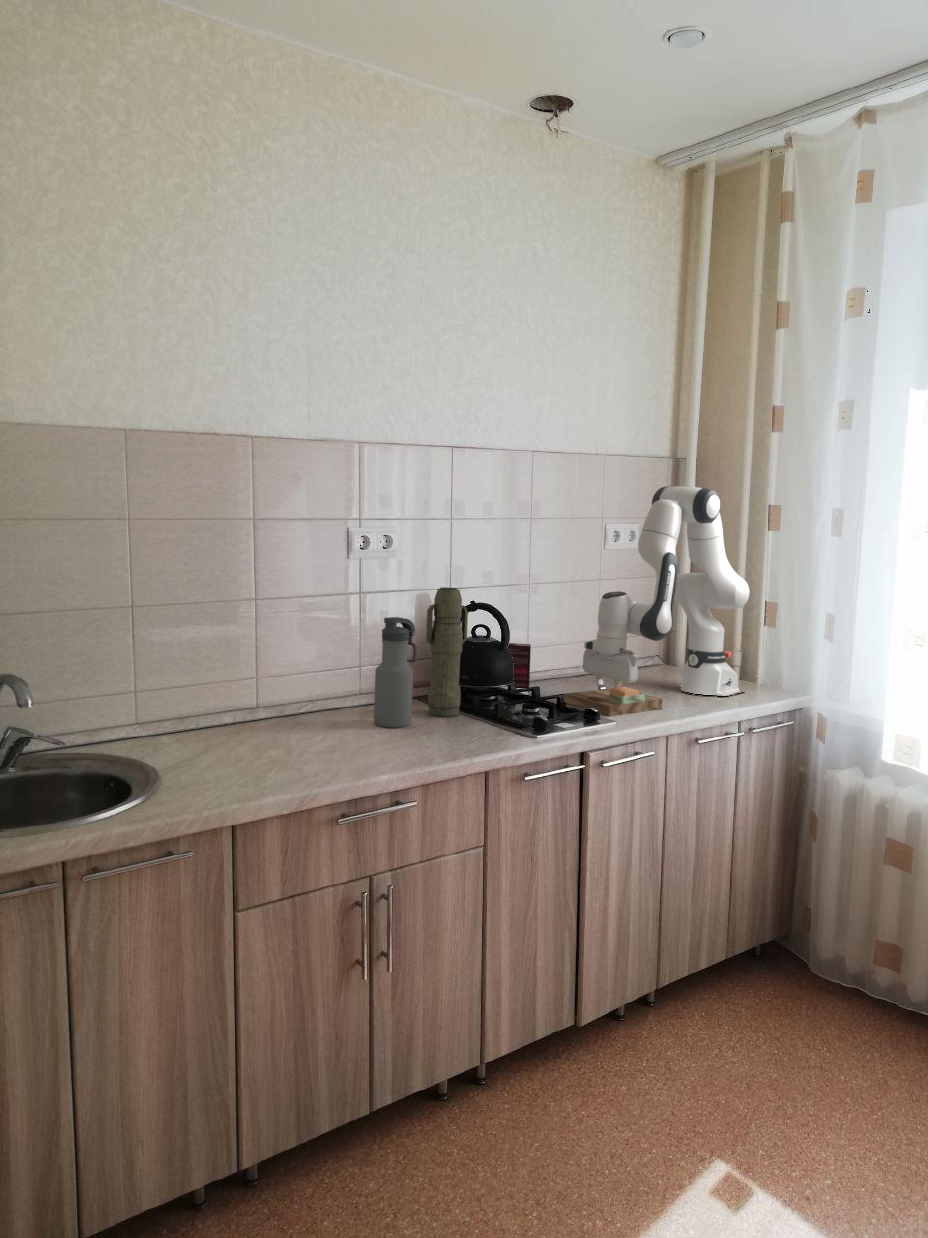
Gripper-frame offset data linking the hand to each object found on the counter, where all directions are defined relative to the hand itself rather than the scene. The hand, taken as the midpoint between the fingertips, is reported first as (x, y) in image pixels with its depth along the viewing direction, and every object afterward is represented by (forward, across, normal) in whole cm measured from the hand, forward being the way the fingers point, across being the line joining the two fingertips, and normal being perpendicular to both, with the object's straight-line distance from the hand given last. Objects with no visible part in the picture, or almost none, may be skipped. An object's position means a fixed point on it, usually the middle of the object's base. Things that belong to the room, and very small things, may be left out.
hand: (608, 692), depth 276 cm
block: (+1, -7, 0) cm, 7 cm away
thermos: (+4, +11, +51) cm, 53 cm away
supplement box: (+4, +25, +16) cm, 30 cm away
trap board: (+4, -1, -1) cm, 4 cm away
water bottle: (+4, +7, +70) cm, 71 cm away
